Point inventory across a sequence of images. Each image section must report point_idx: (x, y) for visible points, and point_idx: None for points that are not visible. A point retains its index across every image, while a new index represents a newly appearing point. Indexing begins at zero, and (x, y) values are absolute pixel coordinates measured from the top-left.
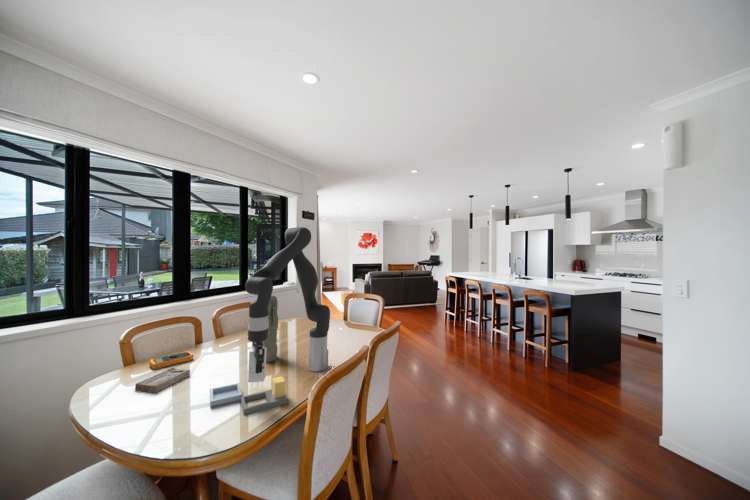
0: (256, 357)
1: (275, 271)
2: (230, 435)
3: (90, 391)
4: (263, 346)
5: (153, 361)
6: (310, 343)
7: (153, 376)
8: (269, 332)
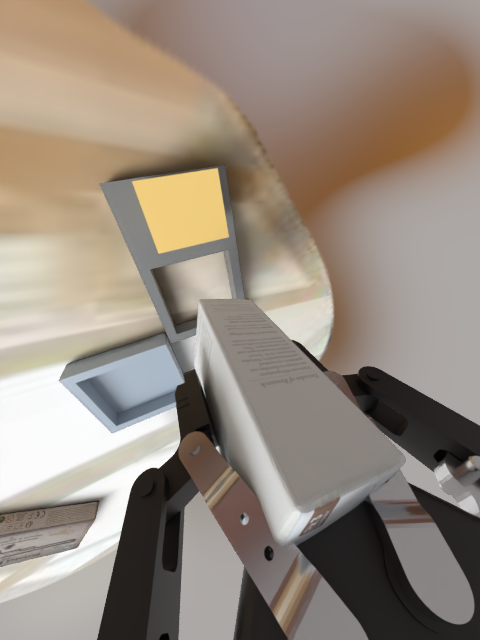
0: None
1: None
2: (303, 317)
3: (88, 560)
4: (445, 554)
5: None
6: None
7: (25, 559)
8: None
